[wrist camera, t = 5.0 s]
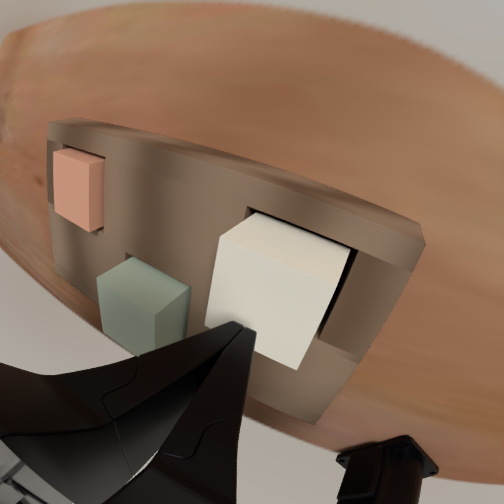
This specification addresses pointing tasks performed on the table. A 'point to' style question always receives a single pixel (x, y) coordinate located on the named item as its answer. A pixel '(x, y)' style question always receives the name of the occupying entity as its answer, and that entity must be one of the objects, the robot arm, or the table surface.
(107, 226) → the walnut board
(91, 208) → the terracotta button
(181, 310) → the sage button
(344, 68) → the table surface
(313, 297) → the cream button
